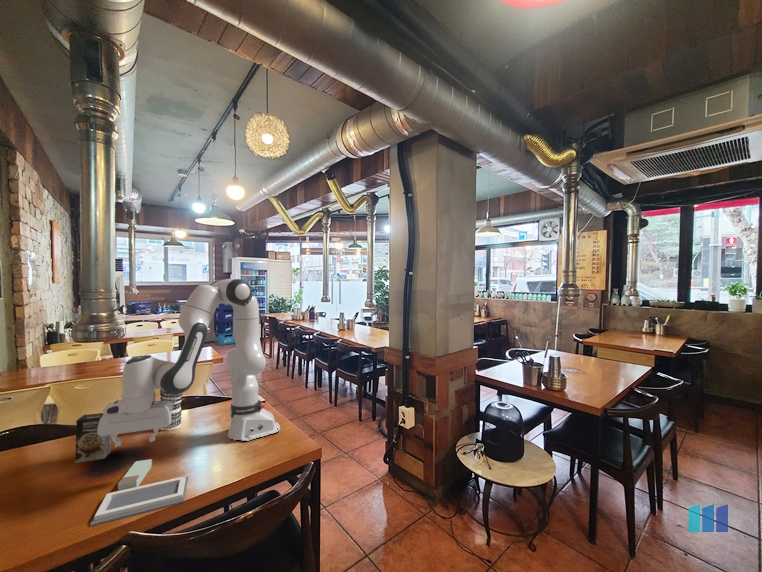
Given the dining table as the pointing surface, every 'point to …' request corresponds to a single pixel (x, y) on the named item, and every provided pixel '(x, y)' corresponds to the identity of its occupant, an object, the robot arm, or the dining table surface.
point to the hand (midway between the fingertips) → (135, 443)
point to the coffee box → (90, 439)
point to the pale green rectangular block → (135, 474)
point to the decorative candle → (173, 409)
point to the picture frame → (141, 500)
